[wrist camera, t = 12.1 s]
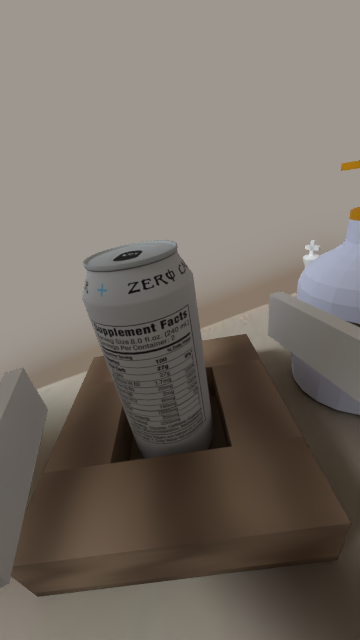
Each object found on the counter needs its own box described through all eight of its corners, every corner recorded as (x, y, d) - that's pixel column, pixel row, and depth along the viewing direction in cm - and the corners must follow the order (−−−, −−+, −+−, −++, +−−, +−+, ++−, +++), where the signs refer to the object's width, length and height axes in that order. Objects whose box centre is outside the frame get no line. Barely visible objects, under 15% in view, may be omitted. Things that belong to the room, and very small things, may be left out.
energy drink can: (214, 408, 21) (193, 233, 14) (214, 479, 16) (180, 260, 9) (150, 408, 23) (101, 246, 16) (130, 475, 17) (43, 277, 10)
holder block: (37, 596, 13) (0, 567, 11) (105, 385, 27) (94, 357, 25) (337, 559, 12) (350, 523, 11) (247, 364, 27) (246, 333, 25)
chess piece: (299, 302, 37) (305, 235, 32) (333, 311, 33) (345, 237, 29) (279, 314, 35) (282, 244, 30) (312, 325, 31) (322, 247, 27)
